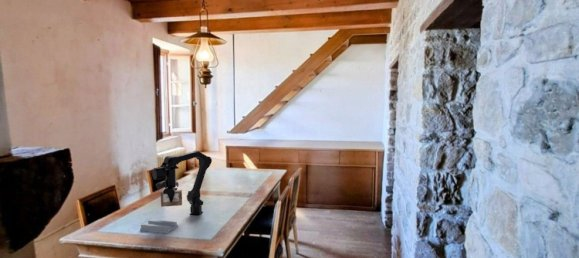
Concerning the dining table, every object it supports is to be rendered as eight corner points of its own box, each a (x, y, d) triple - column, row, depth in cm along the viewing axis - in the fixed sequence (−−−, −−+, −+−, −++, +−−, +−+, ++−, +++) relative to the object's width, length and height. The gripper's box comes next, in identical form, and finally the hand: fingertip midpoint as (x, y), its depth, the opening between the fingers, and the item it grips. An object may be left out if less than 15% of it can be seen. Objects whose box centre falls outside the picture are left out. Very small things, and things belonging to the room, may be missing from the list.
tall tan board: (182, 203, 200) (181, 189, 199) (181, 205, 197) (181, 191, 196) (162, 205, 197) (161, 191, 197) (161, 206, 194) (160, 192, 194)
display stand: (177, 226, 188) (177, 221, 188) (167, 233, 178) (167, 228, 178) (151, 224, 192) (151, 218, 192) (140, 230, 183) (139, 225, 182)
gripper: (160, 173, 203) (161, 197, 204) (153, 181, 185) (154, 207, 186) (178, 173, 205) (179, 196, 207) (173, 180, 187) (174, 205, 188)
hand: (171, 201), depth 197 cm, fingers closed on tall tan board, 3 cm apart
